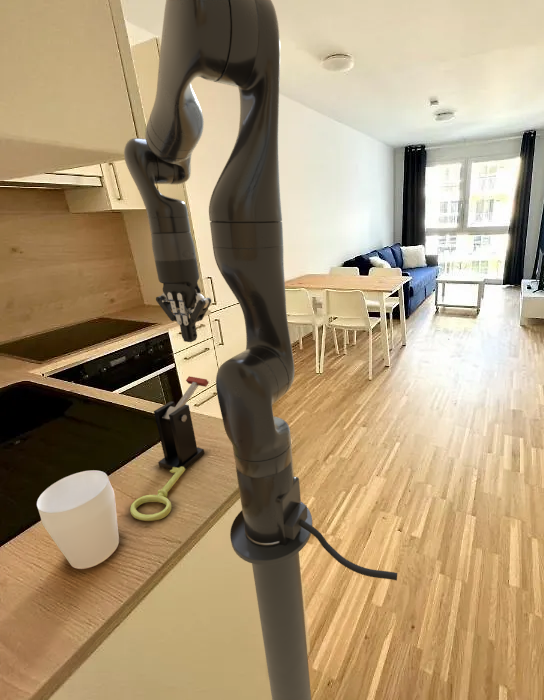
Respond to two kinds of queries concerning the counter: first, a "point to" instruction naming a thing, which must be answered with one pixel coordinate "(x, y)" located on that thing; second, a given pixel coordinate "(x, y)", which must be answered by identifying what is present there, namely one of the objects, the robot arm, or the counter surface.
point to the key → (157, 499)
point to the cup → (81, 517)
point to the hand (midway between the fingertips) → (190, 340)
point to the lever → (186, 395)
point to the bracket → (177, 438)
